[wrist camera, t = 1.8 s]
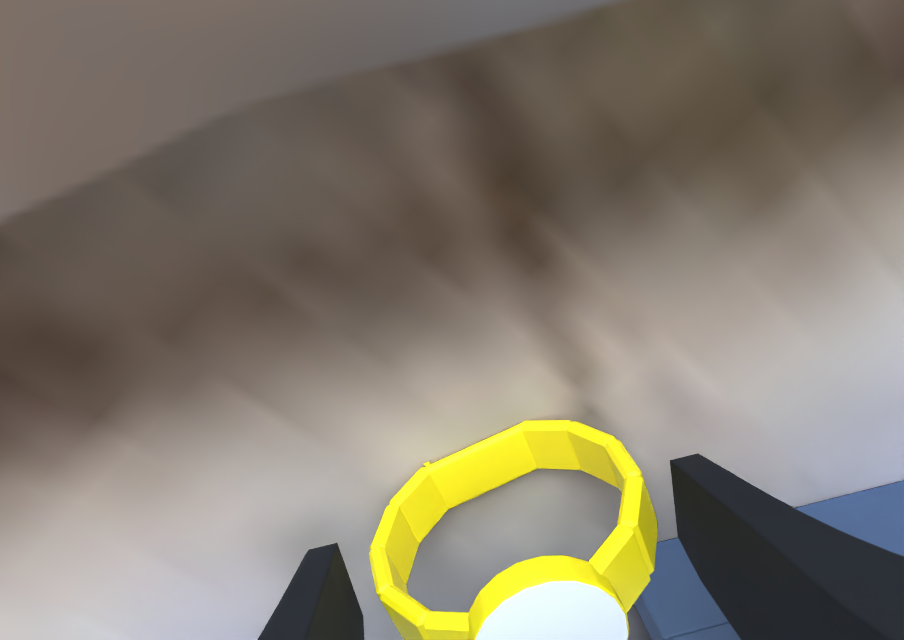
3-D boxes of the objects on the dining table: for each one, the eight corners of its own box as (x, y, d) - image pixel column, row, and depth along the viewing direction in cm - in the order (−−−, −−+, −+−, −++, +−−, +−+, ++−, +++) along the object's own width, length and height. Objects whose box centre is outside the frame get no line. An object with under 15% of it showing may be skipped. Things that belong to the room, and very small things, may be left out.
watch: (401, 541, 17) (411, 765, 11) (358, 460, 16) (345, 662, 10) (611, 457, 17) (727, 644, 11) (580, 370, 16) (691, 526, 10)
